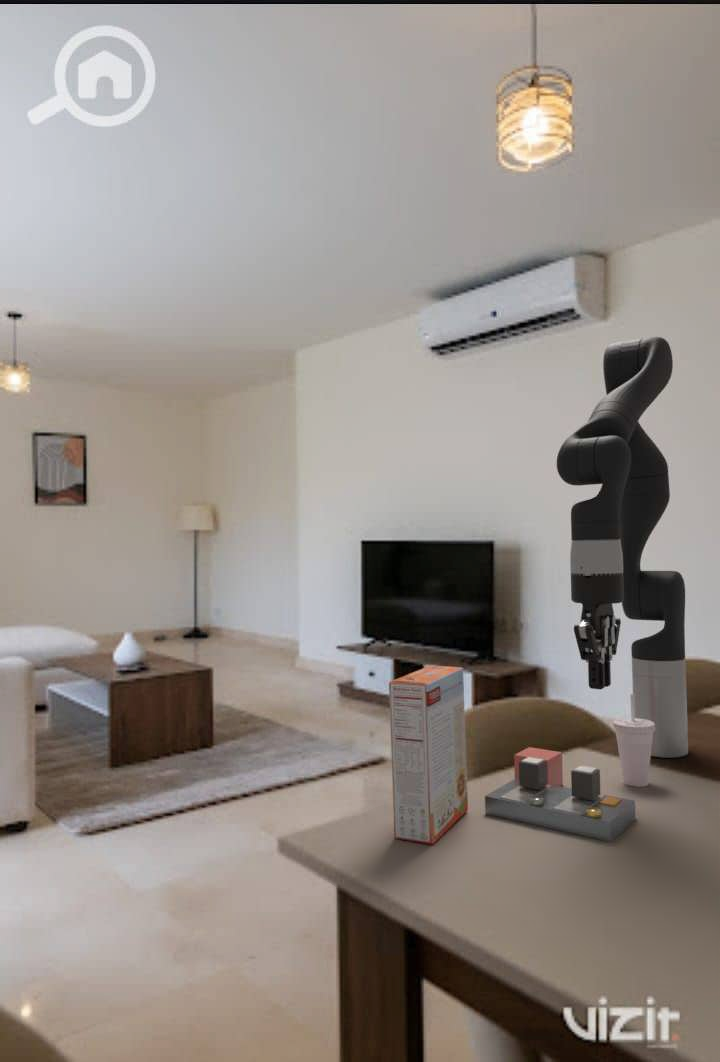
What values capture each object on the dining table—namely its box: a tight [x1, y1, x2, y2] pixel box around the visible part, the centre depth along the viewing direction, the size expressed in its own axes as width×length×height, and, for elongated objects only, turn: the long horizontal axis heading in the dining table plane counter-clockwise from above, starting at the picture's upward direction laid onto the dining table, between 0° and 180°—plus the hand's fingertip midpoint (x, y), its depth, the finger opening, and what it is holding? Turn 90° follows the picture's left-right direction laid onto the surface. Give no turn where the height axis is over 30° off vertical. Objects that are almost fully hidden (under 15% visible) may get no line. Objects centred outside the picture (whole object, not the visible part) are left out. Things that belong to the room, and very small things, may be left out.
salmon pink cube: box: [513, 746, 564, 787], centre depth 118 cm, size 6×6×5 cm
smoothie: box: [612, 693, 655, 788], centre depth 119 cm, size 6×6×14 cm
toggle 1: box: [519, 757, 547, 790], centre depth 110 cm, size 3×3×4 cm
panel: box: [484, 778, 637, 843], centre depth 105 cm, size 10×18×3 cm, turn 52°
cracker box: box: [388, 665, 469, 845], centre depth 103 cm, size 14×6×21 cm, turn 152°
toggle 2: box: [570, 765, 601, 800], centre depth 105 cm, size 3×3×4 cm
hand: (599, 686), depth 111 cm, fingers closed
